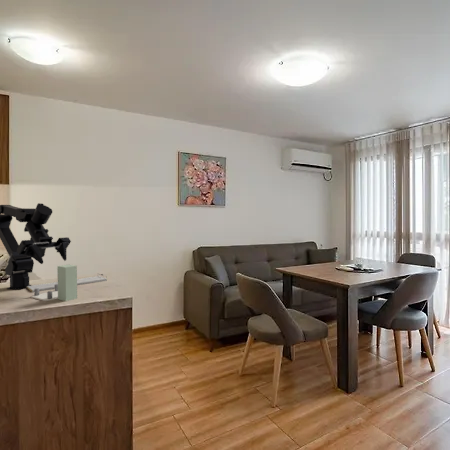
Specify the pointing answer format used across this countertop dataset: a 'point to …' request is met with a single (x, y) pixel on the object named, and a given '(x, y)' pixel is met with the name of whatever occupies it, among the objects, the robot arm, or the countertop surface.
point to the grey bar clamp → (52, 285)
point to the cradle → (46, 294)
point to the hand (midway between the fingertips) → (54, 261)
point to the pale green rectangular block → (67, 282)
